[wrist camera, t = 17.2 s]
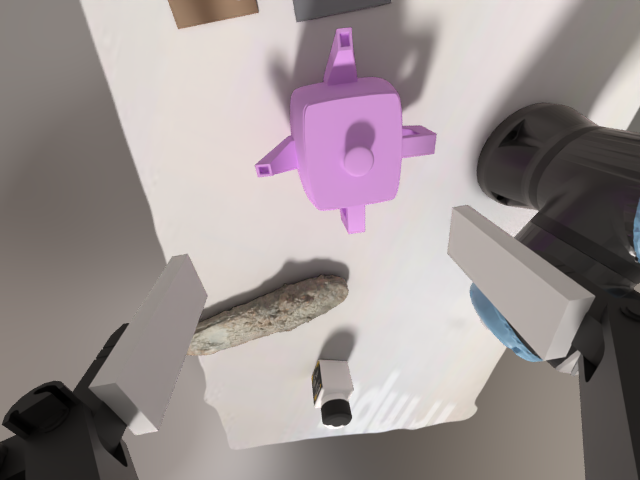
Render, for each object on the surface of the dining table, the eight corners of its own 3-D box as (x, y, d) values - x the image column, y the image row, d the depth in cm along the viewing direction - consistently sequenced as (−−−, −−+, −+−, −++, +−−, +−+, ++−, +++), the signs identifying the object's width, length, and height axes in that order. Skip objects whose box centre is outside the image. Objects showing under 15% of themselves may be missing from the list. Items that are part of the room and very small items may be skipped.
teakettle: (345, 213, 45) (364, 256, 35) (253, 151, 39) (242, 180, 28) (421, 123, 39) (473, 141, 29) (328, 30, 33) (351, 11, 22)
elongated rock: (169, 320, 54) (200, 347, 60) (158, 344, 50) (193, 370, 56) (336, 259, 49) (353, 294, 55) (340, 279, 45) (358, 316, 51)
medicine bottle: (318, 358, 64) (325, 413, 53) (347, 360, 65) (360, 413, 55) (311, 377, 67) (316, 432, 57) (339, 378, 69) (349, 432, 58)
